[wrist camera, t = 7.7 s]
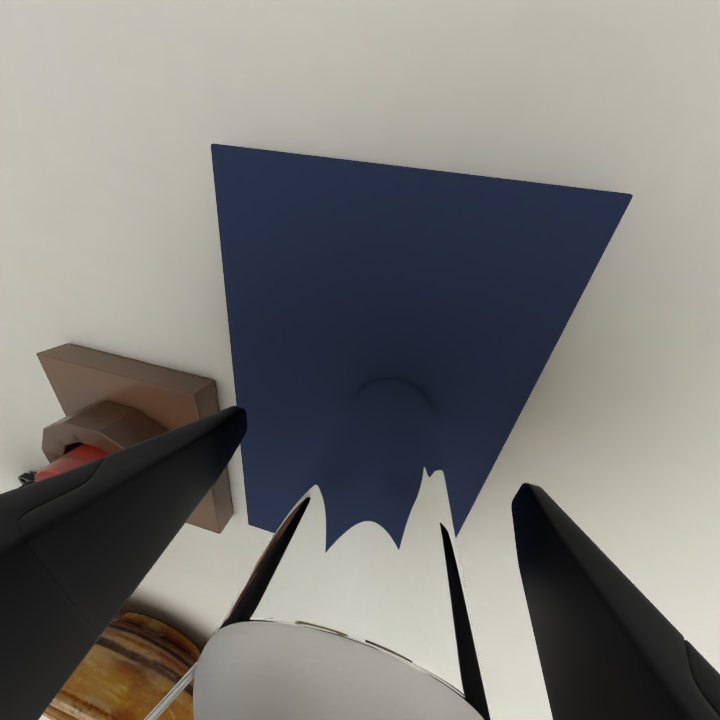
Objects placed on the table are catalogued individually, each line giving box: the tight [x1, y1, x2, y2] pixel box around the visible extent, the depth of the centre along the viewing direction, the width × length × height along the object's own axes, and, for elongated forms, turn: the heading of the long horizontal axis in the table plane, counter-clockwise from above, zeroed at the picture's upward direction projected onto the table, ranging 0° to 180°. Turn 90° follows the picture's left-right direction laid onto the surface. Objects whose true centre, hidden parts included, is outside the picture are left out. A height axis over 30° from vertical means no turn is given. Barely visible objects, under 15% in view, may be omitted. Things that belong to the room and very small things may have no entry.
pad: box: [211, 144, 632, 538], centre depth 12 cm, size 20×12×1 cm, turn 172°
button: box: [35, 444, 110, 482], centre depth 13 cm, size 4×4×2 cm
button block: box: [37, 344, 233, 534], centre depth 15 cm, size 11×9×3 cm
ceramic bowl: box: [42, 613, 200, 720], centre depth 32 cm, size 30×24×8 cm
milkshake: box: [143, 378, 493, 720], centre depth 7 cm, size 5×5×10 cm
